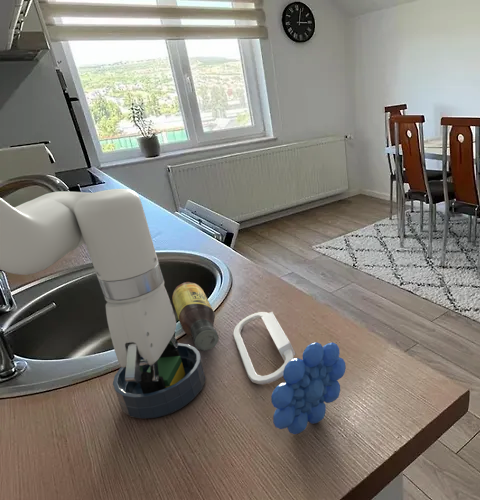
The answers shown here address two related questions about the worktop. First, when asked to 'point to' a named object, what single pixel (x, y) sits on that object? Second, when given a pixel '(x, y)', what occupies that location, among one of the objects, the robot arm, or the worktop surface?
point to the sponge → (170, 369)
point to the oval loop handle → (278, 338)
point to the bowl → (167, 398)
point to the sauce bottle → (195, 315)
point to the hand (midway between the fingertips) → (165, 384)
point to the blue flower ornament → (308, 387)
